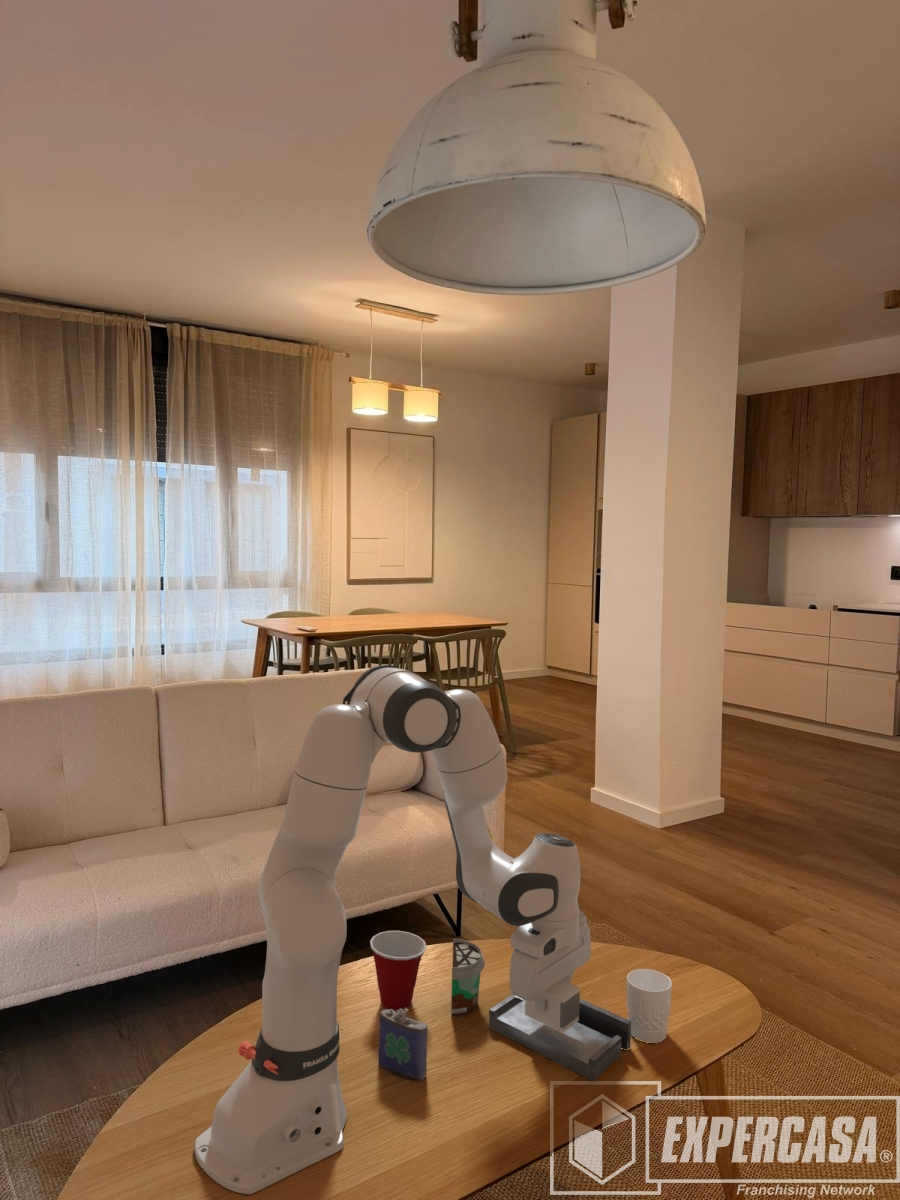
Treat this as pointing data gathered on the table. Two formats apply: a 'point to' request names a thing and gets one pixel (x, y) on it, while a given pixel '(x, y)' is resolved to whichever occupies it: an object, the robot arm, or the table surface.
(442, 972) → the table surface
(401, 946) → the plastic cup
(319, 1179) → the table surface
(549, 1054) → the dark grey tray
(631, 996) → the white cup
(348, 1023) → the table surface
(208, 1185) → the table surface
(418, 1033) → the flask
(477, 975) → the food container
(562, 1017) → the block
